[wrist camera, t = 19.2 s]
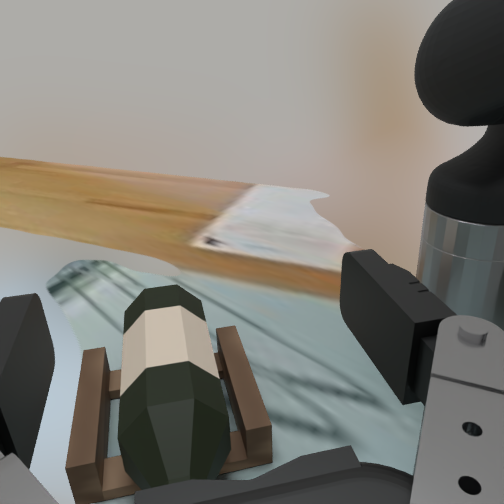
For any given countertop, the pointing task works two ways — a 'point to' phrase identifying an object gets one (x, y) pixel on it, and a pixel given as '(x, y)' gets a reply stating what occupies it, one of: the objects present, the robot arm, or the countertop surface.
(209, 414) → the wine bottle
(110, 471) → the cradle
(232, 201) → the countertop surface
